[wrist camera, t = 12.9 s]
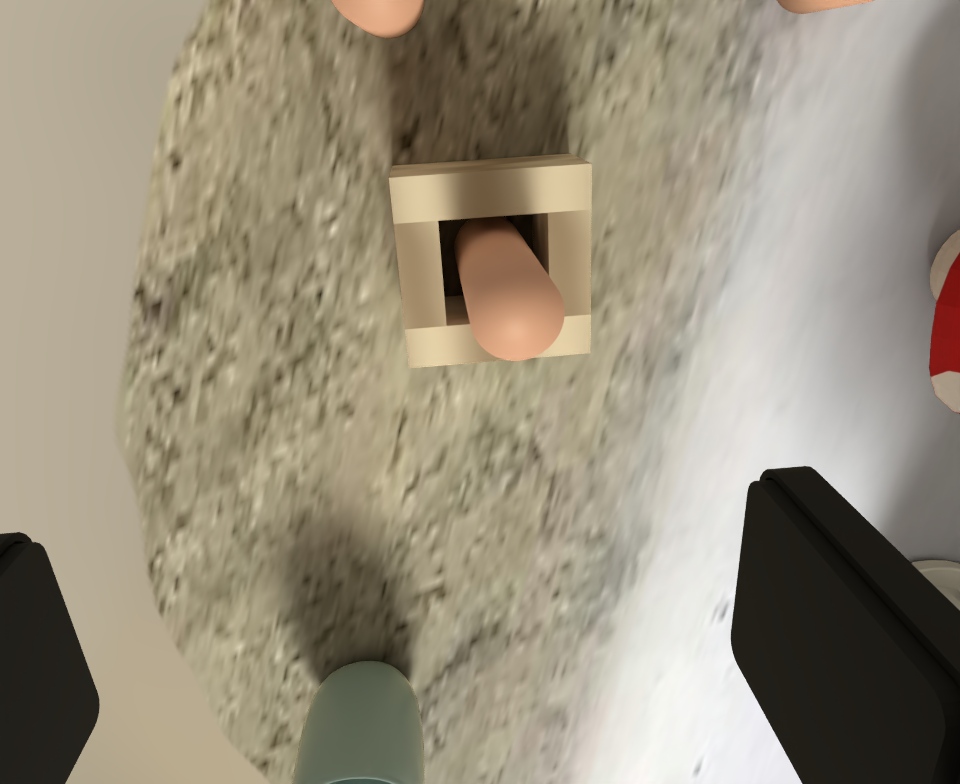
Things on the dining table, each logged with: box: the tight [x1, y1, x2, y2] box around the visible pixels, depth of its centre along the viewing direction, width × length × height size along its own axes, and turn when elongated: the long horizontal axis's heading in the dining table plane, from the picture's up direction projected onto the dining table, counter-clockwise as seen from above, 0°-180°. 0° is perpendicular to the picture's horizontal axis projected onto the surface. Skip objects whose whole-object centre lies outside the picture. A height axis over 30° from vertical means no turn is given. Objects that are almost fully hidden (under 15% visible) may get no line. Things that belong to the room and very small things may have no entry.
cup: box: [292, 661, 425, 784], centre depth 44 cm, size 8×8×10 cm
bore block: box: [389, 153, 592, 368], centre depth 35 cm, size 9×9×5 cm
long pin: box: [454, 216, 565, 361], centre depth 32 cm, size 4×4×12 cm
